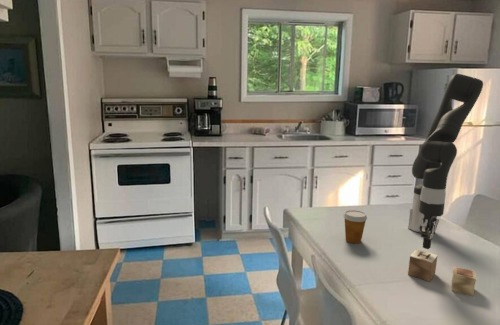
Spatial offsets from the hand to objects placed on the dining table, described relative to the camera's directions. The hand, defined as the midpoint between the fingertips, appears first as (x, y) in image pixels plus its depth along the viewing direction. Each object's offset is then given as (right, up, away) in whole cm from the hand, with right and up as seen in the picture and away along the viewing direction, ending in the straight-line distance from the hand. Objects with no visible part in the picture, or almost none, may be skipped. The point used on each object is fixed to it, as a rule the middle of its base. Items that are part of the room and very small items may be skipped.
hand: (426, 247), depth 129 cm
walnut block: (-1, -2, -1) cm, 3 cm away
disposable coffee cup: (-18, -4, +28) cm, 34 cm away
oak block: (+7, -12, -9) cm, 16 cm away
